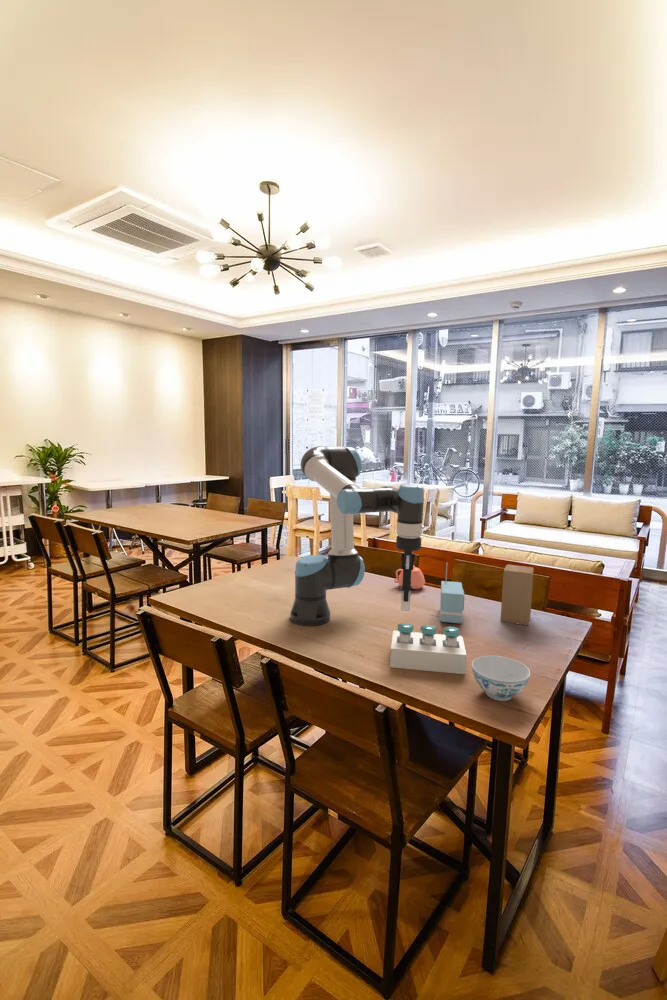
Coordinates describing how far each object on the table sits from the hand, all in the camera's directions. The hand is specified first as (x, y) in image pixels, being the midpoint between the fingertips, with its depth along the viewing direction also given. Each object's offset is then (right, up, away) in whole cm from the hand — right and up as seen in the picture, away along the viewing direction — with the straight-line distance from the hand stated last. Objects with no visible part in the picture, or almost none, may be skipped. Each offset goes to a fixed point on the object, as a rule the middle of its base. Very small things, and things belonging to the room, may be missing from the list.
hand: (405, 610), depth 156 cm
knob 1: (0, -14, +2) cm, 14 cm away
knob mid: (+7, -15, 0) cm, 16 cm away
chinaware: (+23, -19, -19) cm, 35 cm away
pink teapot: (+13, -6, +75) cm, 76 cm away
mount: (+7, -16, +1) cm, 17 cm away
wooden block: (+48, -12, +37) cm, 61 cm away
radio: (+23, -11, +38) cm, 46 cm away
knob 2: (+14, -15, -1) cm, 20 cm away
